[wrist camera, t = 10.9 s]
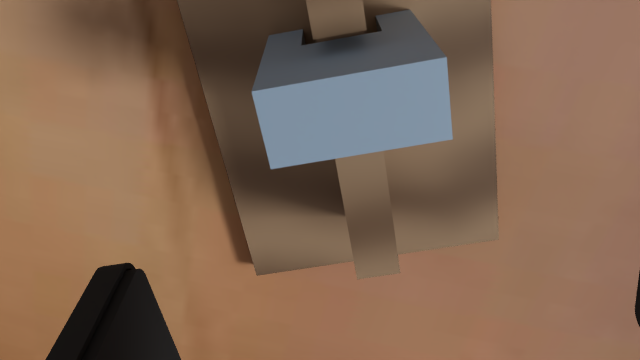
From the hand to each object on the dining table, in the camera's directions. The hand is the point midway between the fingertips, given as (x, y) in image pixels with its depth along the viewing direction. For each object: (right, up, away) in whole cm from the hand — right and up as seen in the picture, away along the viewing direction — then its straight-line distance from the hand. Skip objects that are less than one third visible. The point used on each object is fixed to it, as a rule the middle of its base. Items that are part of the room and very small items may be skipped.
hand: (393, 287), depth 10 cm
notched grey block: (0, +8, +16) cm, 18 cm away
